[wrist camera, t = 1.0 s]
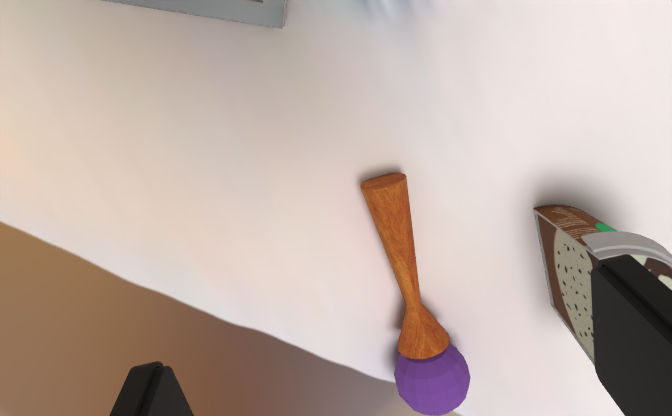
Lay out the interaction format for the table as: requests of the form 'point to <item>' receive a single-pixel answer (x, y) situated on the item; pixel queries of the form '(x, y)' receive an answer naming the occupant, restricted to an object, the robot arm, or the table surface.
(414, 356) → the kendama
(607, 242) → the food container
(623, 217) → the table surface
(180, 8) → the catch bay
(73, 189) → the table surface
